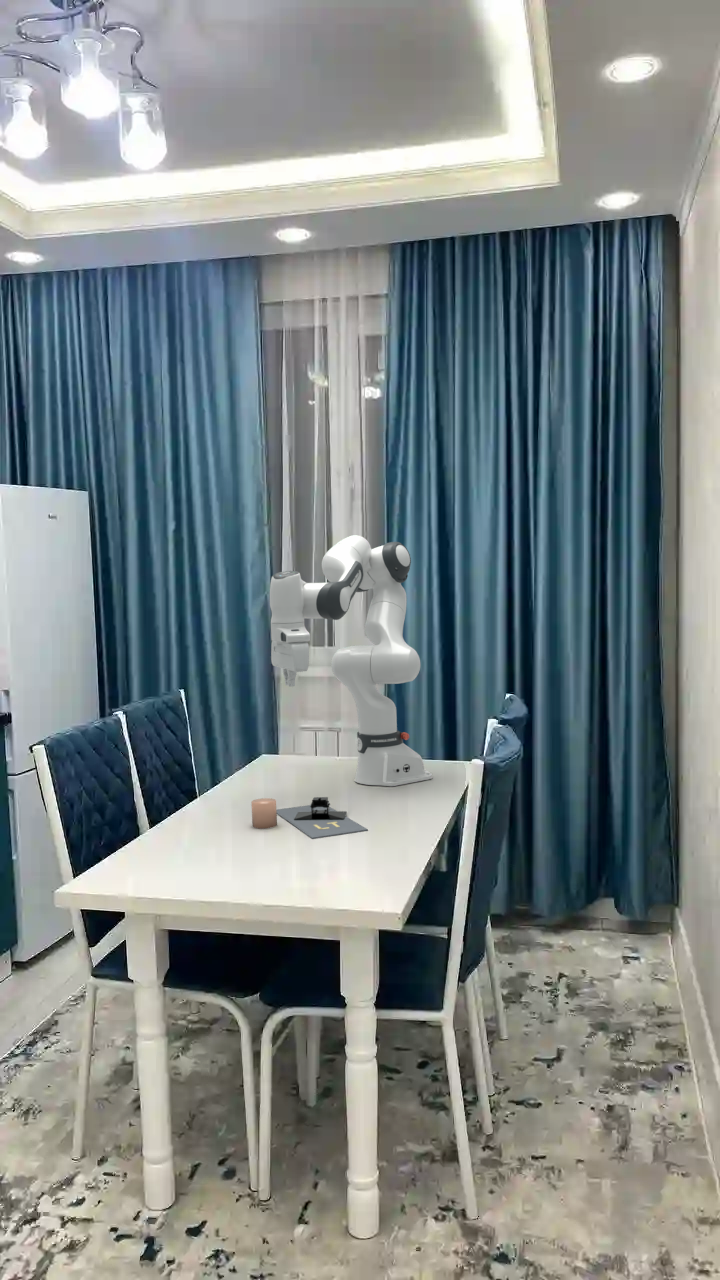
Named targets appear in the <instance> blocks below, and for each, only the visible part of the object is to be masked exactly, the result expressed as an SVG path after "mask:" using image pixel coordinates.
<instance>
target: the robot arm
mask: <svg viewBox="0 0 720 1280" xmlns="http://www.w3.org/2000/svg"><path fill="white" fill-rule="evenodd" d="M411 563H412V558H411V554H410V552H409V550H408V548H407V547H406V546H405V545H404V544H402V543H401V542H399V541H391V542H386V543H385V544H382V545H381V546H380V545H379V546H377V547H374V548H372V546H371V544H370V542H369V541H368V540H367V538H365V537H363V536H362V535H359V534H358V535H356V534H354V535H353V534H352V535H350V536H347V537H345V538H343V539H341V540H340V541H338V542H336V543H335V544H334V545H333V546H331V547H330V548H329V550H327V551H326V552H325V554H324V556H323V558H322V560H321V569H322V574H323V575H324V577H325V578H326V579H327V581H328V582H306V581H304V580H303V579H302V576H301V573H300V572H299V571H296V570H286V571H279V572H276V573H274V574H273V575H272V576H271V578H270V579H271V580H270V585H269V608H270V610H271V618H270V636H271V637H270V638H271V639H270V640H271V649H270V650H271V651H270V653H271V654H270V655H271V656H270V659H271V664H272V666H274V667H277V668H280V669H282V673H283V674H282V675H283V678H284V685H285V686H287V687H295V686H296V677H297V673H299V672H300V673H301V672H302V673H303V672H307V671H308V669H309V666H310V665H309V664H310V645H309V643H308V642H310V641H311V634H310V632H309V631H308V630H307V628H306V626H305V619H308V620H313V619H314V620H316V619H317V620H321V619H322V620H333V621H339V620H341V619H342V618H343V617H344V616H345V615H346V614H347V612H348V610H349V609H350V605H351V601H352V600H353V598H354V596H355V595H356V593H363V592H368V591H369V590H372V591H373V592H372V593H373V595H372V598H371V601H370V604H369V607H368V612H367V616H366V620H365V624H364V634H365V636H366V638H367V639H368V640H369V641H370V642H371V643H372V644H371V645H350V646H345V647H341V648H338V649H337V650H336V651H335V652H334V654H333V656H332V659H331V663H330V664H331V665H330V666H331V671H332V673H333V675H334V677H335V678H336V679H337V681H339V682H340V683H341V684H343V686H345V687H346V688H347V690H348V691H349V693H350V694H351V696H352V698H353V700H354V703H355V707H356V713H357V725H358V726H357V727H358V729H357V730H358V731H357V733H356V746H357V747H356V748H357V752H358V753H357V755H358V757H357V765H356V766H357V767H356V772H355V776H354V782H355V783H358V784H361V785H367V786H368V785H369V786H383V787H395V786H401V785H406V784H412V783H417V782H421V781H422V782H423V781H428V780H432V779H433V773H432V772H430V771H428V770H427V769H425V766H424V765H425V764H424V760H423V758H422V755H420V754H419V753H418V752H417V751H415V750H413V749H412V748H411V747H409V746H408V745H406V744H405V743H404V741H407V740H409V739H410V734H409V733H407V732H405V731H403V732H402V731H399V730H398V727H397V726H398V724H397V721H398V720H397V719H398V718H397V707H396V704H395V703H394V701H393V700H392V699H391V698H389V697H387V696H386V695H383V694H382V693H380V691H379V690H378V688H377V685H376V684H378V685H379V684H381V685H383V684H384V685H387V684H388V685H395V684H396V685H397V684H404V683H409V682H413V681H414V680H415V679H416V678H417V676H418V675H419V672H420V670H421V658H420V655H419V654H418V651H416V649H415V648H414V647H411V646H410V645H409V644H408V643H406V641H405V639H404V637H403V633H404V623H405V618H406V615H407V614H406V612H407V599H408V598H407V593H406V590H405V588H404V587H403V585H402V584H403V583H404V582H406V581H407V579H408V577H409V575H408V574H409V572H410V570H411ZM373 644H374V645H373Z"/></svg>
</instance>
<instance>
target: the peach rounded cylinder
mask: <svg viewBox="0 0 720 1280" xmlns="http://www.w3.org/2000/svg"><path fill="white" fill-rule="evenodd" d="M250 805H251V822H252V824H251V825H252V826H251V827H253V828H254V829H260V830H262V829H263V830H264V829H271V828H275V827H277V826H278V817H277V816H278V814H277V800H276V799H275V798H270V797H269V798H268V797H264V798H263V797H262V798H257V799H256V798H255V799H253V800H251V804H250Z"/></svg>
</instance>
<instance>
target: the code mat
mask: <svg viewBox="0 0 720 1280" xmlns="http://www.w3.org/2000/svg"><path fill="white" fill-rule="evenodd" d="M276 809H277V808H276ZM314 810H327V808H323V807H316V808H314ZM310 811H311V804H307V805H300V806H293V807H286V808H285V807H284V808H278V809H277V816H279V817H280V818H282V819H283V820H285V821H286V822H288V823H289V824H290V825H292V826H293V827H295V828H297V830H299V831H300V832H302V833H303V834H305V835H306V836H307V837H309V838H310V839H312V840H314V839H321V838H328V837H334V836H339V835H340V836H341V835H347V834H354V833H361V832H367V831H368V828H367V827H365V826H363V825H361V824H360V823H358V822H357V821H355V820H353V819H351V818H350V817H348V816H347V815H346V816H345V819H344V820H294V818H295V816H296V815H297V813H298V812H310ZM329 811H337V810H336V809H334V808H332V807H331V806H329Z"/></svg>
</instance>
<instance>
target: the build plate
mask: <svg viewBox="0 0 720 1280" xmlns="http://www.w3.org/2000/svg"><path fill="white" fill-rule="evenodd" d="M310 805H311V811H310V812H298V813H297V815H296V816H295V818H294V820H344V819H345V816H346V817H347V813H348V812H347V811H346V810H345V811H343V810H342V811H341V810H339V811H338V810H336V811H329V807H330V805H331V804H330V800H329V797H328V796H314V797H312V800H311V804H310ZM316 807H323V808H327V810H314V808H316Z"/></svg>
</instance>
